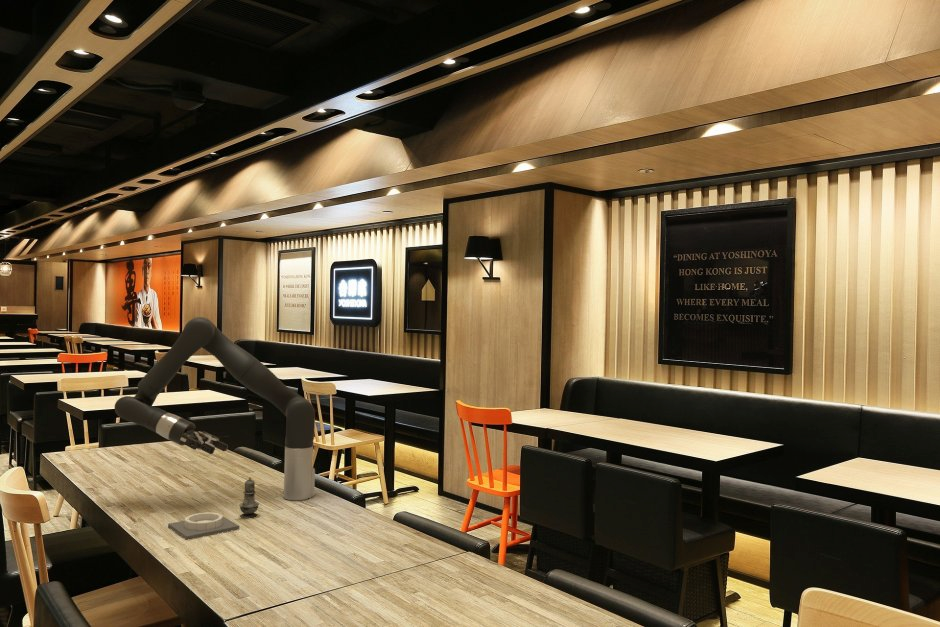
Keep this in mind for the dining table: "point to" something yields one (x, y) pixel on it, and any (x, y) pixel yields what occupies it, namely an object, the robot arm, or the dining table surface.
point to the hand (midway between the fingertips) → (220, 449)
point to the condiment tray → (203, 532)
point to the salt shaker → (249, 501)
